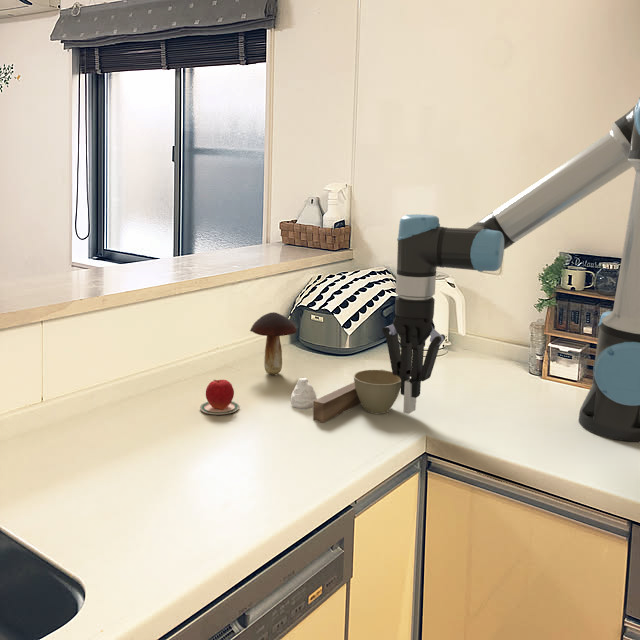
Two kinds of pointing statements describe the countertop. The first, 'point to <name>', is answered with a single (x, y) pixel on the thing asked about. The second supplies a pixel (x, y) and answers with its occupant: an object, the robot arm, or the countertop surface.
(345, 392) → the board
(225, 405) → the apple
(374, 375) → the flower pot
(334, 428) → the countertop surface
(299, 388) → the garlic bulb
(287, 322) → the decorative mushroom
